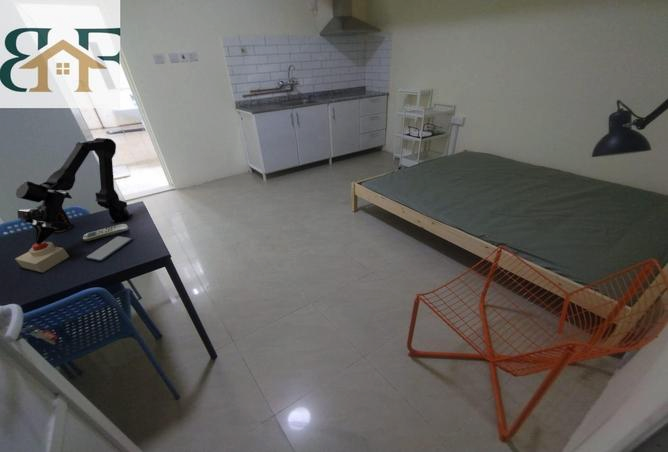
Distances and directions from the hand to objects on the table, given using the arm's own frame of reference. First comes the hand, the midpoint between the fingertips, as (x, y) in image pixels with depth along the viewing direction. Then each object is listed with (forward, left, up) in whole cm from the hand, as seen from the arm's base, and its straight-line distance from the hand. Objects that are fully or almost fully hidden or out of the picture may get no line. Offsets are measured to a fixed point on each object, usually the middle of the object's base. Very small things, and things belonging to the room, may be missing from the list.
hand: (37, 243), depth 109 cm
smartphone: (-22, +1, -8) cm, 23 cm away
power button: (0, 0, -2) cm, 2 cm away
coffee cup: (+6, -27, -8) cm, 29 cm away
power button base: (+1, +1, -8) cm, 8 cm away
